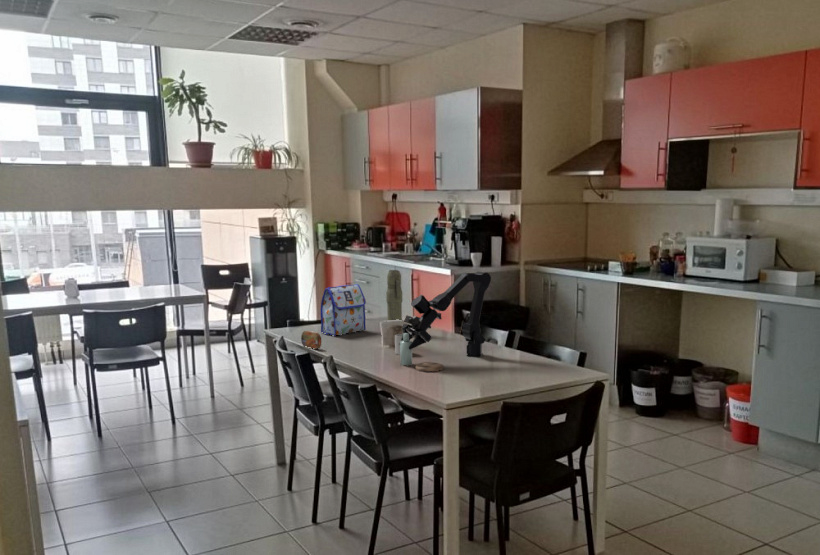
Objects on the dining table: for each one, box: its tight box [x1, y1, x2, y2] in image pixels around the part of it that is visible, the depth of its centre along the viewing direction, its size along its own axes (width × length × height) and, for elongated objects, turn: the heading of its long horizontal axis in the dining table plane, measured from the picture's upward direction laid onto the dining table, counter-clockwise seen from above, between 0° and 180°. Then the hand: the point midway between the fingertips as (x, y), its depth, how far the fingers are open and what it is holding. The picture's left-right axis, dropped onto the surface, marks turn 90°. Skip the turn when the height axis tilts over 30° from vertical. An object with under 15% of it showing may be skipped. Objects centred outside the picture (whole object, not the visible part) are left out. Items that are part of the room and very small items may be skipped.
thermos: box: [385, 269, 403, 321], centre depth 359 cm, size 9×12×35 cm
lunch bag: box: [320, 283, 367, 337], centre depth 362 cm, size 23×17×27 cm
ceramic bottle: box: [399, 333, 413, 366], centre depth 288 cm, size 5×5×14 cm
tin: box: [300, 330, 322, 350], centre depth 325 cm, size 15×3×8 cm, turn 42°
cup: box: [394, 333, 403, 356], centre depth 311 cm, size 7×10×9 cm
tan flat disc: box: [415, 362, 444, 372], centre depth 281 cm, size 12×12×1 cm
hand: (404, 347), depth 288 cm, fingers open, 9 cm apart
